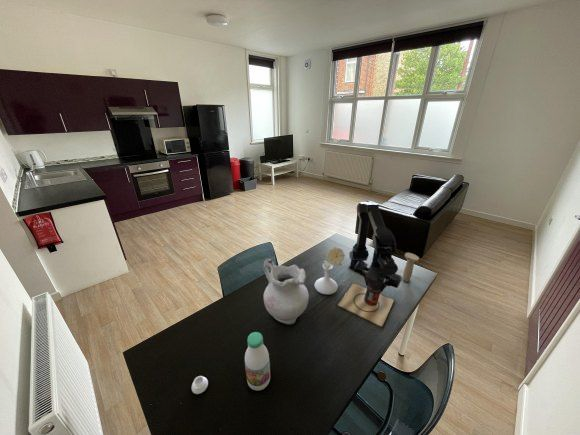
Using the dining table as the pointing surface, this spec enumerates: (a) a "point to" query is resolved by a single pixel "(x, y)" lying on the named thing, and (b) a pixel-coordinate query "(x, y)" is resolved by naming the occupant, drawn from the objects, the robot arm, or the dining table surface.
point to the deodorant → (372, 294)
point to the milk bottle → (257, 362)
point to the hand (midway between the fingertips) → (374, 288)
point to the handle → (409, 266)
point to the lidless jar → (199, 384)
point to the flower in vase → (326, 283)
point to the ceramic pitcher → (285, 292)
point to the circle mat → (366, 305)
